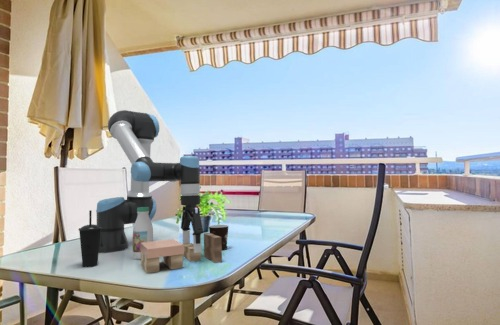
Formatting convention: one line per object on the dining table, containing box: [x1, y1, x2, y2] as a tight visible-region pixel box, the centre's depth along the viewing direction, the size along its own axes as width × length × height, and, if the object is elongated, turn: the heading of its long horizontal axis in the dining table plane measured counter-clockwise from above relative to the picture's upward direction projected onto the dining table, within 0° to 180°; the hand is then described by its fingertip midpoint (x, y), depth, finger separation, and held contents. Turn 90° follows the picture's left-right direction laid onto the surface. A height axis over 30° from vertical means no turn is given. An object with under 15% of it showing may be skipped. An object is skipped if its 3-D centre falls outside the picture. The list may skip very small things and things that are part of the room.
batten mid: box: [163, 254, 184, 270], centre depth 111 cm, size 11×4×5 cm, turn 29°
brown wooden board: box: [203, 232, 223, 264], centre depth 119 cm, size 12×2×9 cm, turn 29°
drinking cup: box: [78, 210, 102, 268], centre depth 114 cm, size 8×8×20 cm
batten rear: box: [140, 252, 160, 274], centre depth 107 cm, size 11×4×5 cm, turn 29°
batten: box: [182, 242, 202, 263], centre depth 122 cm, size 11×4×5 cm, turn 29°
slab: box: [140, 238, 184, 259], centre depth 110 cm, size 14×12×3 cm
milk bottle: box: [132, 207, 154, 260], centre depth 125 cm, size 8×8×20 cm
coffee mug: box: [208, 224, 229, 251], centre depth 136 cm, size 12×9×10 cm
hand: (191, 249), depth 121 cm, fingers open, 13 cm apart
